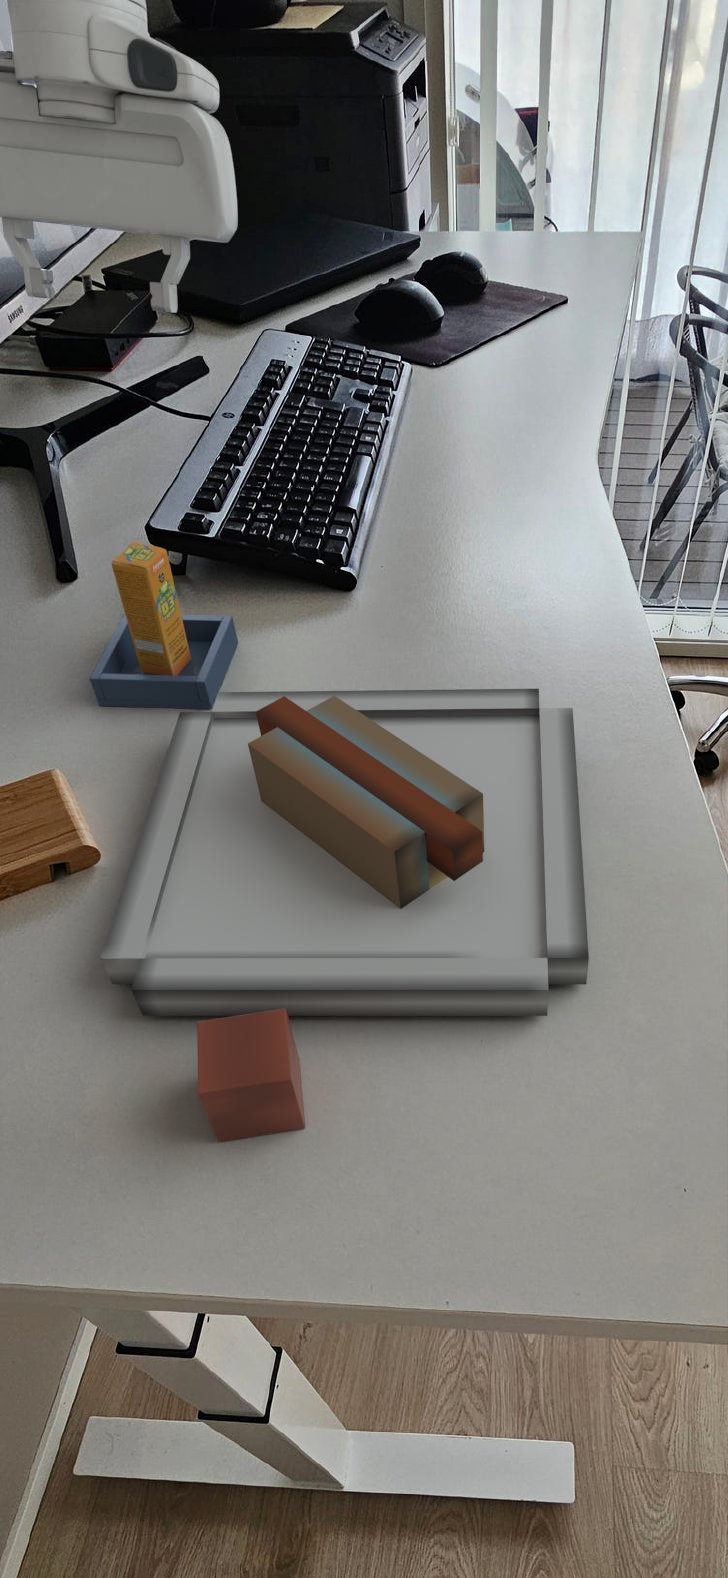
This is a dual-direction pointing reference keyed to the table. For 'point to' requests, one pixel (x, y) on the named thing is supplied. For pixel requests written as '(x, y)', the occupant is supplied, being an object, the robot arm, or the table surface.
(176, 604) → the supplement box
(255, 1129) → the rust block
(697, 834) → the table surface
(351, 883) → the grey square tray
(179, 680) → the blue tray
